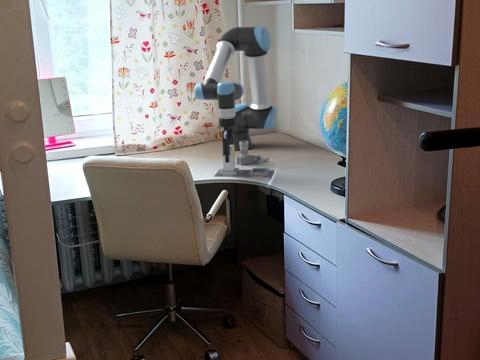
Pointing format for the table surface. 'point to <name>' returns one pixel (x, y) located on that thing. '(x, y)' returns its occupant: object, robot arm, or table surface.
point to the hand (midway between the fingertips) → (229, 167)
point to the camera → (248, 155)
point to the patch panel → (247, 173)
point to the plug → (232, 153)
